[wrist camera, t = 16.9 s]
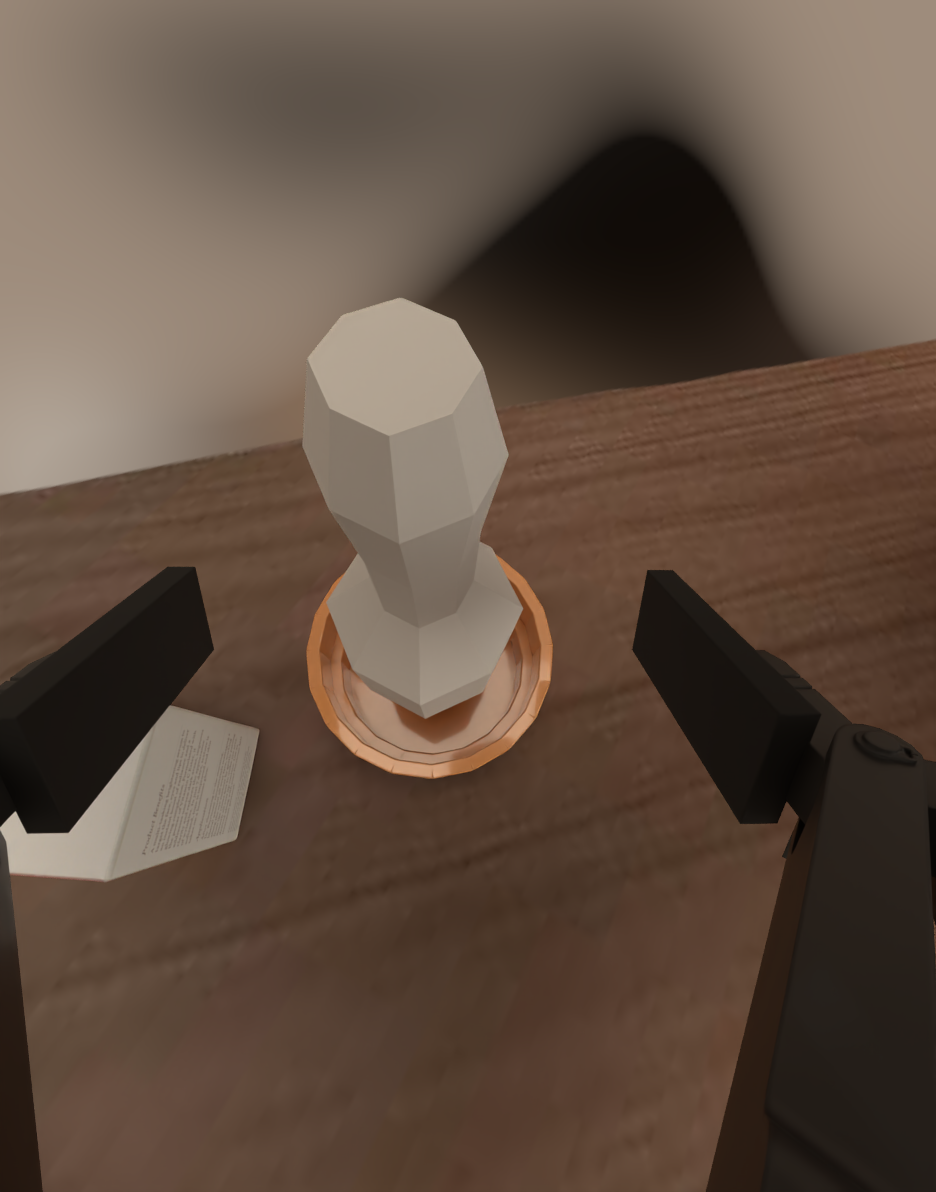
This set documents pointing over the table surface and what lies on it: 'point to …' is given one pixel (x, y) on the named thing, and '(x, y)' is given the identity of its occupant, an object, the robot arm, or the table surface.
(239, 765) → the small box
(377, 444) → the low poly bottle
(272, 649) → the table surface
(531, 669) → the bowl
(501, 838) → the table surface
